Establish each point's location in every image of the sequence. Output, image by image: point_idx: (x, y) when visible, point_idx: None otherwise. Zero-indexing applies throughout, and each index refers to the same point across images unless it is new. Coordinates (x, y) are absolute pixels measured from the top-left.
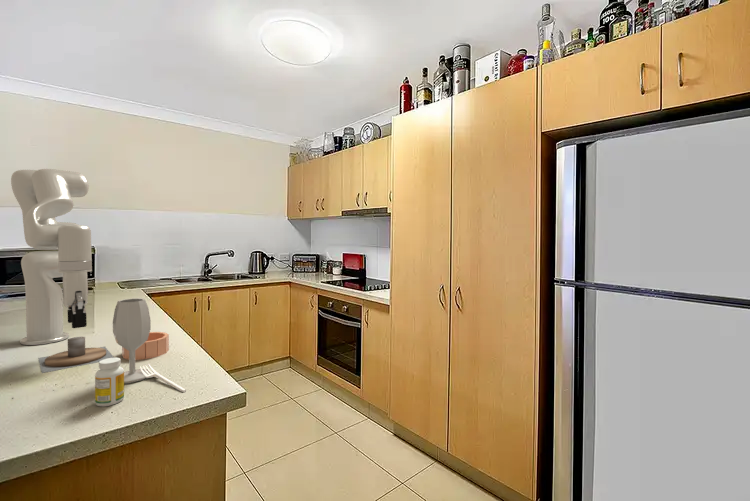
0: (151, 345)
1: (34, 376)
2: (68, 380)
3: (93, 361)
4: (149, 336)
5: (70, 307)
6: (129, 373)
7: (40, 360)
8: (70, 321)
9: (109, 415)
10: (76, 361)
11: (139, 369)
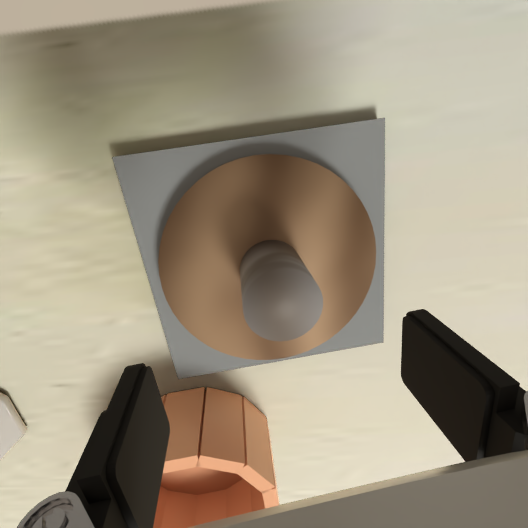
0: None
1: (140, 127)
2: (20, 250)
3: None
4: (261, 506)
5: (522, 431)
6: None
7: (330, 131)
8: (408, 328)
9: None
10: (164, 275)
11: (3, 442)
